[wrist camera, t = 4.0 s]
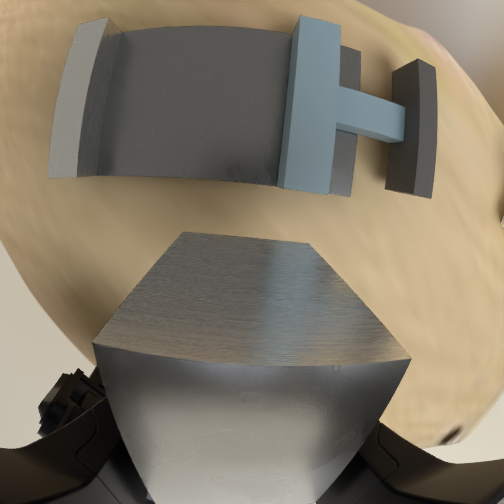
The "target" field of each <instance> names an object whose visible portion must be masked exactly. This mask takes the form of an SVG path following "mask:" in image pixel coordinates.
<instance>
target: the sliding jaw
mask: <svg viewBox="0 0 504 504" xmlns="http://www.w3.org/2000/svg"><path fill="white" fill-rule="evenodd" d="M340 36H341V25H338V24H334V23H331V22H327V21H323V20H319V19H315V18H310V17H306V16H301V15H300V17H299V20H298V22H297V24H296V27H295V29H294V31H293V36H292V47H291V58H290V68H289V79H288V89H287V99H286V109H285V118H284V127H283V137H282V146H281V155H280V164H279V172H278V181H277V187H280V188H283V189H290V190H298V191H305V192H312V193H319V194H325V195H328V194H329V187H330V179H331V171H332V162H333V153H334V143H335V133H336V129H338V130H343V131H347V132H351V133H355V134H359V135H363V136H367V137H370V138H374V139H377V140H381V141H384V142H388V143H390V147H389V158H388V167H387V176H386V184H385V189H386V190H391V191H395V192H399V193H404V194H409V195H414V196H419V197H424V198H429V199H431V197H432V190H433V182H434V173H435V162H436V148H437V83H436V70H435V67H433V66H432V65H430V64H428V63H426V62H424V61H422V60H420V59H416V60H414V61H412V62H410V63H408V64H406V65H404V66H403V67H401V68H399V69H397V70H395V71H393V72H392V102H390V101H387V100H384V99H381V98H378V97H375V96H372V95H369V94H366V93H363V92H359V91H356V90H353V89H349V88H345V87H342V86H339V74H340Z"/></svg>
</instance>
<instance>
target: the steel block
mask: <svg viewBox="0 0 504 504" xmlns="http://www.w3.org/2000/svg"><path fill="white" fill-rule="evenodd" d="M92 344H93V349H94V353H95V357H96V361H97V365H98V368H99V372H100V375H101V379H102V382H103V386H104V389H105V392H106V395H107V398H108V401H109V404H110V407H111V410H112V413H113V415H114V418H115V421H116V423H117V426H118V429H119V431H120V434H121V436H122V438H123V441H124V443H125V445H126V448H127V450H128V452H129V454H130V457H131V459H132V461H133V463H134V465H135V467H136V469H137V471H138V473H139V475H140V477H141V479H142V481H143V483H144V485H145V486H146V488H147V490H148V492H149V494H150V495H151V497H152V499H153V500H154V502H155V504H314V503H315V502H316V501H317V500H318V499H319V498H320V497H321V496H322V495H323V493H324V492H325V491H326V490H327V489H328V488H329V487H330V485H331V484H332V483H333V482H334V481H335V480H336V478H337V477H338V476H339V475H340V474H341V472H342V471H343V470H344V469H345V467H346V466H347V465H348V463H349V462H350V461H351V460H352V458H353V457H354V456H355V454H356V453H357V451H358V450H359V449H360V447H361V446H362V444H363V443H364V442H365V440H366V439H367V437H368V436H369V434H370V433H371V431H372V430H373V428H374V427H375V425H376V423H377V422H378V420H379V419H380V417H381V415H382V414H383V412H384V410H385V409H386V407H387V405H388V404H389V402H390V400H391V398H392V396H393V395H394V393H395V391H396V389H397V387H398V385H399V384H400V382H401V380H402V378H403V376H404V374H405V372H406V370H407V368H408V366H409V363H410V361H411V359H412V358H411V357H410V356H409V354H408V353H407V352H406V351H405V350H404V348H403V347H402V346H401V345H400V344H399V342H398V341H397V340H396V339H395V338H394V337H393V335H392V334H391V333H390V332H389V331H388V330H387V328H386V327H385V326H384V325H383V324H382V323H381V321H380V320H379V319H378V318H377V317H376V316H375V315H374V314H373V312H372V311H371V310H370V309H369V308H368V307H367V306H366V305H365V303H364V302H363V301H362V300H361V299H360V298H359V297H358V296H357V295H356V293H355V292H354V291H353V290H352V289H351V288H350V287H349V286H348V285H347V284H346V282H345V281H344V280H343V279H342V278H341V277H340V276H339V275H338V274H337V273H336V272H335V271H334V270H333V269H332V267H331V266H330V265H329V264H328V263H327V262H326V261H325V260H324V259H323V258H322V257H321V256H320V255H319V254H318V253H317V252H316V251H315V250H314V249H313V247H312V246H311V245H310V244H309V243H299V242H289V241H279V240H269V239H258V238H248V237H237V236H226V235H215V234H204V233H192V232H183V233H182V234H181V235H180V236H179V237H178V238H177V239H176V240H175V242H174V243H173V244H172V245H171V246H170V247H169V248H168V249H167V251H166V252H165V253H164V254H163V255H162V256H161V257H160V259H159V260H158V261H157V262H156V263H155V264H154V266H153V267H152V268H151V269H150V270H149V271H148V273H147V274H146V275H145V276H144V277H143V279H142V280H141V281H140V282H139V283H138V285H137V286H136V287H135V288H134V289H133V291H132V292H131V293H130V294H129V295H128V297H127V298H126V299H125V300H124V302H123V303H122V304H121V305H120V307H119V308H118V309H117V310H116V312H115V313H114V314H113V316H112V317H111V318H110V319H109V321H108V322H107V323H106V325H105V326H104V327H103V329H102V330H101V331H100V332H99V334H98V335H97V336H96V338H95V339H94V340H93V342H92Z"/></svg>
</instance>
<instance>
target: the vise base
mask: <svg viewBox="0 0 504 504" xmlns="http://www.w3.org/2000/svg"><path fill="white" fill-rule="evenodd" d="M292 36H293V34H288V33H282V32H276V31H269V30H261V29H252V28H240V27H223V26H182V27H165V28H154V29H145V30H137V31H130V32H124V33H123V32H122V31H121V30H120V29H119V28H118V27H117V26H116V25H115V24H114V22H113V21H112V20H111V19H110V18H109V17H107V18H103V19H99V20H95V21H91V22H87V23H84V24H80V25H78V27H77V30H76V33H75V35H74V38H73V41H72V44H71V47H70V50H69V53H68V57H67V60H66V64H65V67H64V71H63V75H62V79H61V83H60V87H59V92H58V96H57V101H56V107H55V112H54V118H53V125H52V132H51V141H50V150H49V163H48V178H69V177H86V176H153V177H176V178H193V179H207V180H220V181H231V182H242V183H252V184H261V185H270V186H277V181H278V172H279V164H280V155H281V146H282V137H283V127H284V118H285V109H286V99H287V89H288V79H289V68H290V58H291V47H292ZM360 71H361V51H357V50H354V49H351V48H348V47H344V46H341V45H340V74H339V86H342V87H345V88H349V89H353V90H356V91H359V92H360ZM356 143H357V134H355V133H351V132H347V131H343V130H338V129H336V133H335V143H334V153H333V162H332V171H331V179H330V187H329V194H334V195H340V196H346V197H350V195H351V188H352V180H353V172H354V163H355V154H356Z"/></svg>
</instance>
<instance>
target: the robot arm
mask: <svg viewBox="0 0 504 504" xmlns="http://www.w3.org/2000/svg"><path fill="white" fill-rule="evenodd" d="M96 365H97V364H96ZM38 409H39V413H40V416H41V420H40V422H39V423H40V424H41V427H40V429H39V431H38V434H39V435H40V436H42V437H43V438H41V439H39V440H37V441H35V442H33V443H31V444H29V445H27V446H24V447H21V448H16V449H7V448H0V504H155V502H154V500H153V499H152V497H151V495H150V494H149V492H148V490H147V488H146V486H145V485H144V483H143V481H142V479H141V477H140V475H139V473H138V471H137V469H136V467H135V465H134V463H133V461H132V459H131V457H130V454H129V452H128V450H127V448H126V445H125V443H124V441H123V438H122V436H121V434H120V431H119V429H118V426H117V423H116V421H115V418H114V415H113V413H112V410H111V407H110V404H109V401H108V398H107V395H106V392H105V389H104V386H103V382H102V379H101V375H100V372H99V368H98V365H97V366H96V367H95V369H94V371H93V372H92V374H91V375H90V377H89V378H88V377H87V376H86V375H84V372H83V371H81V370H80V369H79V368H78V369H77V370H76V372H75V373H74V375H73V374H72V373H71V374H70V375H69V374H64V373H63V374H62V376H61V377H60V378H59V380H58V381H57V383H56V384H55V386H54V387H53V388H52V389H51V391H50V392H49V393H48V394H47V395H46V397H45V398H44V399H43V400H42V402H41V403H40V405H39V407H38ZM316 504H504V459H500V460H493V461H485V462H476V463H464V464H454V463H448V462H445V461H442V460H440V459H438V458H436V457H435V456H433V455H431V454H429V453H427V452H426V451H424V450H422V449H420V448H419V447H417V446H415V445H413V444H412V443H410V442H409V441H407V440H405V439H404V438H402V437H401V436H399V435H398V434H396V433H395V432H394V431H392V430H391V429H389V428H388V427H387V426H386V425H384V424H383V423H380V421H379V420H378V422H377V423H376V425H375V427H374V428H373V430H372V431H371V433H370V434H369V436H368V437H367V439H366V440H365V442H364V443H363V444H362V446H361V447H360V449H359V450H358V451H357V453H356V454H355V456H354V457H353V458H352V460H351V461H350V462H349V463H348V465H347V466H346V467H345V469H344V470H343V471H342V472H341V474H340V475H339V476H338V477H337V478H336V480H335V481H334V482H333V483H332V484H331V485H330V487H329V488H328V489H327V490H326V491H325V492H324V493H323V495H322V496H321V497H320V498H319V499H318V500H317V501H316Z"/></svg>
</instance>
